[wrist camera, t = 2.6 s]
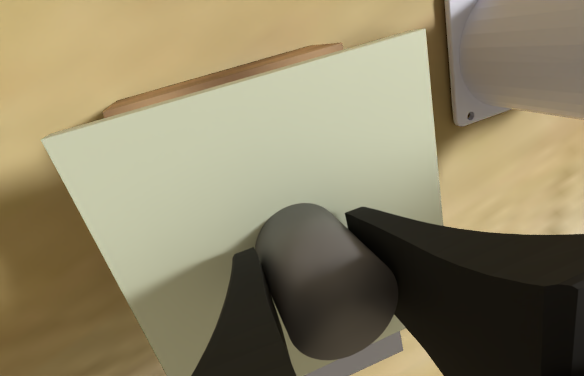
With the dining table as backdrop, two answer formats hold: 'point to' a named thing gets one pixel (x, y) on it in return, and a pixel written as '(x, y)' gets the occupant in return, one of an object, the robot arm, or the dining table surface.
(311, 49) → the box
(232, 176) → the lid
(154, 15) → the dining table surface
